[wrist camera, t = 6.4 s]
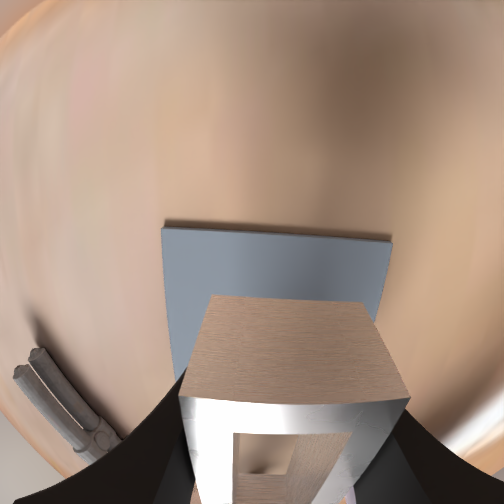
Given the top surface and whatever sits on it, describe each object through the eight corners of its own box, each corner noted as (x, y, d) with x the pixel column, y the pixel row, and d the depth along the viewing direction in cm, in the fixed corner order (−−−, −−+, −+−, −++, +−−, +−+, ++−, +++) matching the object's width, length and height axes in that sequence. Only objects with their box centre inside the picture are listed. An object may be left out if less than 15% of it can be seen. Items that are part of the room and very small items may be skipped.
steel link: (362, 302, 8) (410, 397, 5) (300, 481, 13) (303, 539, 9) (211, 294, 9) (178, 395, 5) (219, 478, 13) (212, 537, 9)
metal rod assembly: (192, 493, 27) (186, 525, 22) (173, 492, 27) (166, 523, 22) (49, 338, 19) (16, 376, 14) (33, 342, 19) (1, 377, 15)
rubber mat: (390, 241, 15) (392, 243, 14) (345, 399, 19) (346, 403, 18) (163, 226, 15) (161, 228, 15) (179, 391, 19) (177, 395, 19)
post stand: (316, 409, 19) (325, 471, 14) (287, 490, 25) (288, 530, 19) (207, 403, 19) (194, 465, 14) (215, 486, 25) (209, 526, 20)
